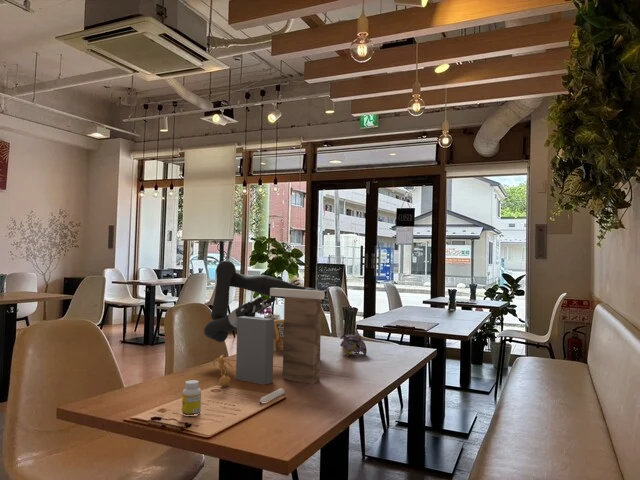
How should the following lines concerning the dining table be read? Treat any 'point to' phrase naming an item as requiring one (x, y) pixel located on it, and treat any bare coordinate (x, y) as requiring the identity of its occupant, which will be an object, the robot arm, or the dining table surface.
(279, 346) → the candy box
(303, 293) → the bar
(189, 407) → the supplement bottle
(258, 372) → the grey rectangular box
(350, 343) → the decorative flower
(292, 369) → the tall wooden block
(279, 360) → the dining table surface
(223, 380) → the figurine
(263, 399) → the marker
